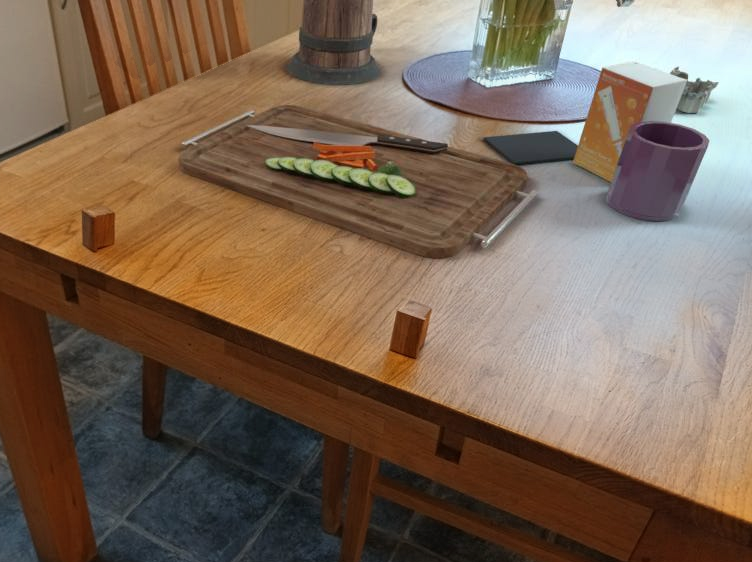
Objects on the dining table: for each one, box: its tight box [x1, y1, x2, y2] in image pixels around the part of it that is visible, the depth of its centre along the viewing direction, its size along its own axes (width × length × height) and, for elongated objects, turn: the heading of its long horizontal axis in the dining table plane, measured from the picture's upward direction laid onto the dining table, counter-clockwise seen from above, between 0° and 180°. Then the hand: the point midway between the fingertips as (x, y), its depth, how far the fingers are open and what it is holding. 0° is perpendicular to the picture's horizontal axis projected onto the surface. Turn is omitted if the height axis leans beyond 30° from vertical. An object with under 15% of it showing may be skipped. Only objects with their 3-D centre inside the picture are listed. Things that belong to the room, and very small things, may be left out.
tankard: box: [286, 0, 381, 86], centre depth 125 cm, size 24×17×20 cm
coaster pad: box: [483, 130, 578, 166], centre depth 103 cm, size 12×9×1 cm
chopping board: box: [178, 104, 538, 259], centre depth 94 cm, size 45×27×3 cm, turn 54°
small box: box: [572, 61, 687, 183], centre depth 93 cm, size 8×6×13 cm
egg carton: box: [669, 66, 719, 114], centre depth 117 cm, size 11×8×4 cm
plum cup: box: [605, 121, 710, 222], centre depth 87 cm, size 9×9×9 cm
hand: (595, 6), depth 95 cm, fingers open, 8 cm apart
